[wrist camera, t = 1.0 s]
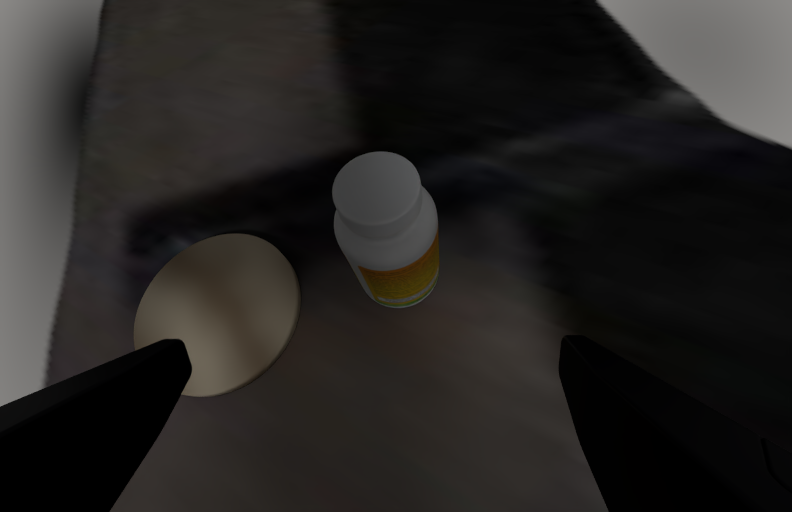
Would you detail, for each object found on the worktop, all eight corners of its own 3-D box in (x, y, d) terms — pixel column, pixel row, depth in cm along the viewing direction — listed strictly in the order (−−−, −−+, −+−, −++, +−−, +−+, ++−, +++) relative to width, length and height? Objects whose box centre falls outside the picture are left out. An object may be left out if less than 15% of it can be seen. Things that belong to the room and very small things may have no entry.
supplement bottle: (456, 267, 24) (463, 177, 16) (401, 327, 23) (376, 264, 14) (397, 223, 26) (375, 120, 18) (344, 275, 25) (291, 192, 16)
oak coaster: (216, 436, 22) (206, 436, 21) (114, 332, 25) (101, 329, 24) (333, 289, 25) (329, 283, 24) (227, 216, 28) (220, 209, 28)
